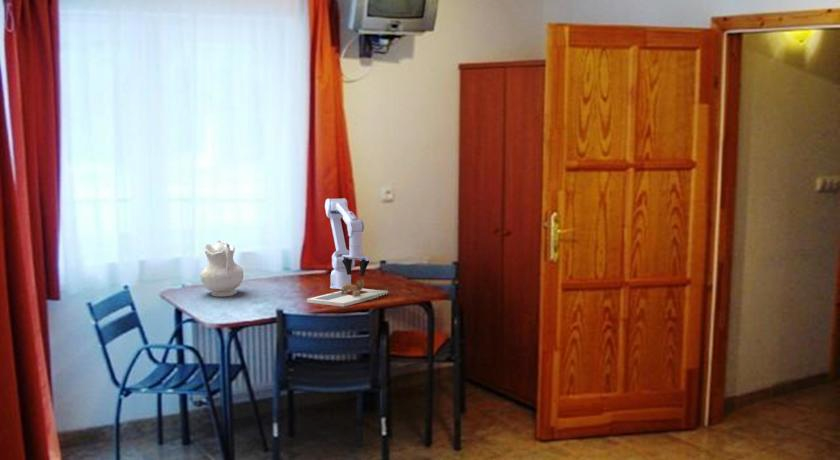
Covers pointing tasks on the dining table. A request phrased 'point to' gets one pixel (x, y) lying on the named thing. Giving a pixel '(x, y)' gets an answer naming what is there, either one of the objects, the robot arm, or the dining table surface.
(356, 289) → the lion figurine
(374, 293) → the shutter
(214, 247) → the ceramic pitcher
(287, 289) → the dining table surface
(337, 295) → the puzzle board
